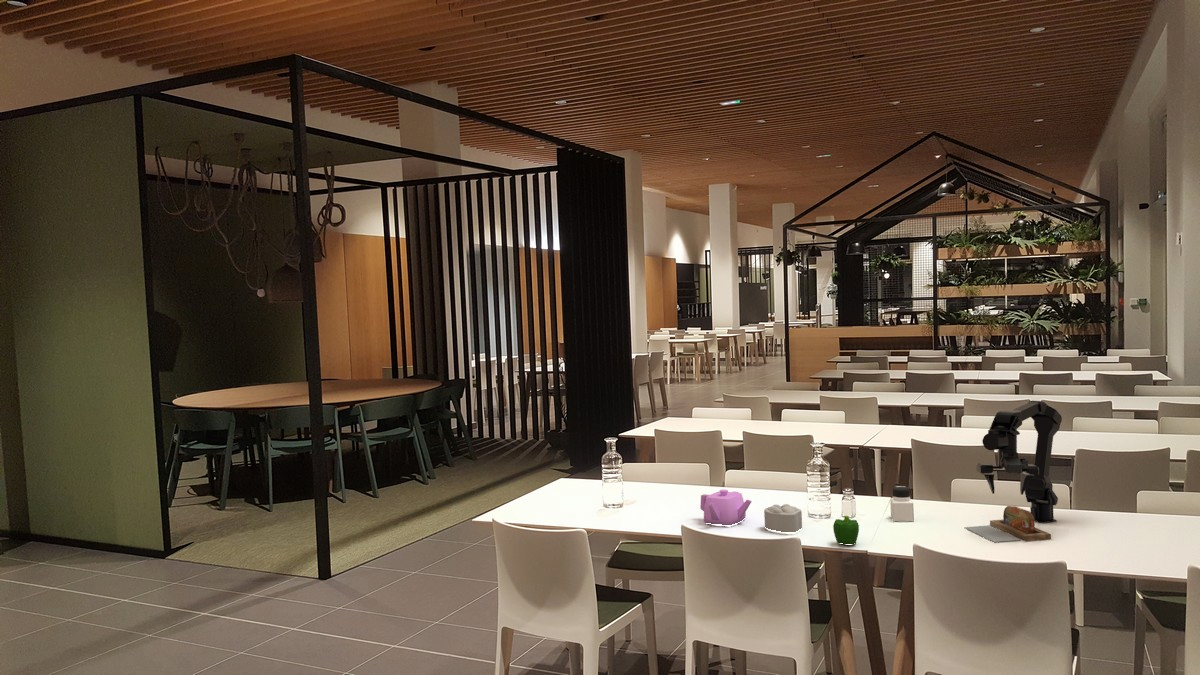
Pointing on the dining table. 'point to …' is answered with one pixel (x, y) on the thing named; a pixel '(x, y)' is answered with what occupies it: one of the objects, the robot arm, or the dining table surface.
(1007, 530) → the frame
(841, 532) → the bell pepper
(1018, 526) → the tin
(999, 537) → the grey mat
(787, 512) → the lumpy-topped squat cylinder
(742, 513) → the teakettle
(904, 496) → the medicine bottle
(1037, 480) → the robot arm
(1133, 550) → the dining table surface
